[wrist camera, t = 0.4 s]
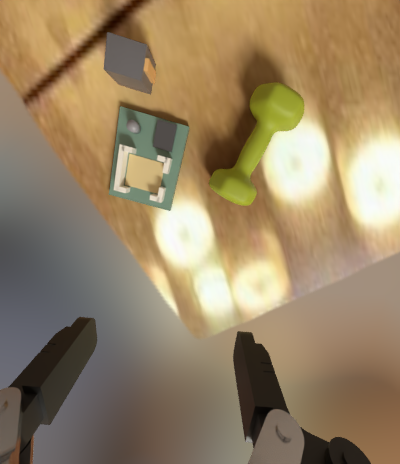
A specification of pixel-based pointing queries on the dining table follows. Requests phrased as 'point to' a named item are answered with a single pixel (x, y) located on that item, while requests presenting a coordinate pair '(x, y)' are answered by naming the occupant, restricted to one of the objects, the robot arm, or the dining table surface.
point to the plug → (129, 63)
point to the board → (147, 158)
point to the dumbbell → (259, 139)
